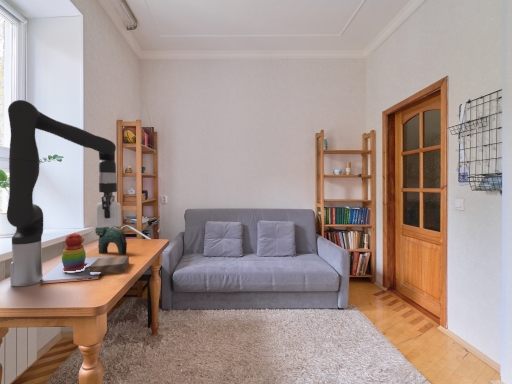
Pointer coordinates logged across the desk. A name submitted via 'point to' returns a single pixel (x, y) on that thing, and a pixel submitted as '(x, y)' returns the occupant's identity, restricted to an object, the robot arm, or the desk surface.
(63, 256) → the stacking bear
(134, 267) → the desk surface
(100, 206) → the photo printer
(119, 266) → the walnut block
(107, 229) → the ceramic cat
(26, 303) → the desk surface
